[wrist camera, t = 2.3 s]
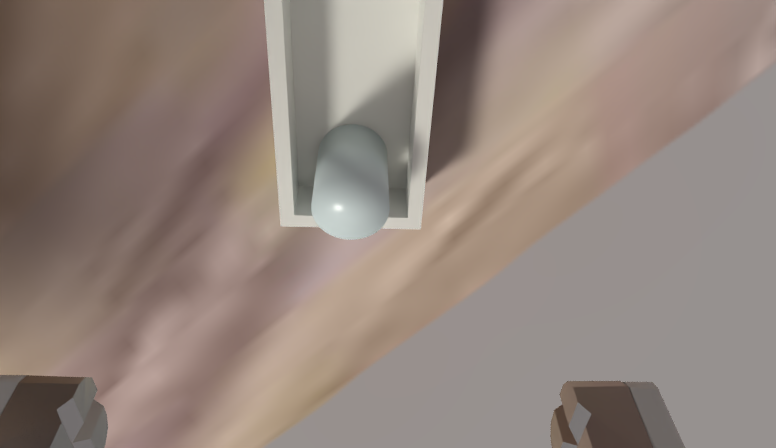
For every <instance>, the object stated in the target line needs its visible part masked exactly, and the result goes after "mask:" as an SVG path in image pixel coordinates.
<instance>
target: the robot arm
mask: <svg viewBox="0 0 776 448" xmlns="http://www.w3.org/2000/svg"><path fill="white" fill-rule="evenodd" d="M96 392H97V388H96V386H95V383H94V381H93V379H92V378H91V377H62V376H32V375H0V448H104V447H105V443H106V437H107V430H108V423H107V414H106V411H105V409H104V406H103V405H101V404H100V403H98V402H97V401H95V400H94V397H95V394H96ZM560 397H561V401H562V405H561V406H559V407H558V408H556V409H555V410H554V413H553V417H552V420H551V435H550V437H551V445H552V448H685V446H684V444H683V442H682V440H681V438H680V435H679V433H678V431H677V429H676V427H675V424H674V422H673V420H672V418H671V416H670V413H669V411H668V409H667V407H666V405H665V403H664V400H663V398H662V396H661V394H660V392H659V389H658V387H656V385H655V384H654V383H653V382H621V381H567V382H566V383H565V384H564V385H563V387H562V389H561V392H560Z"/></svg>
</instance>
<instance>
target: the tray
mask: <svg viewBox="0 0 776 448" xmlns="http://www.w3.org/2000/svg"><path fill="white" fill-rule="evenodd" d="M264 9H265V22H266V36H267V49H268V63H269V76H270V90H271V103H272V117H273V130H274V144H275V157H276V171H277V184H278V198H279V211H280V225H281V226H292V227H320V228H321V229H322V230H323V231H325V232H326V233H328V234H330V235H332V236H334V237H337V238H341V239H348V240H354V239H361V238H365V237H368V236H370V235H372V234H374V233H376V232H377V231H378V230H380V229H381V228H383V229H421V221H422V211H423V201H424V191H425V181H426V171H427V160H428V150H429V140H430V130H431V120H432V110H433V100H434V90H435V80H436V69H437V59H438V49H439V39H440V29H441V19H442V9H443V0H264Z"/></svg>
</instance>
